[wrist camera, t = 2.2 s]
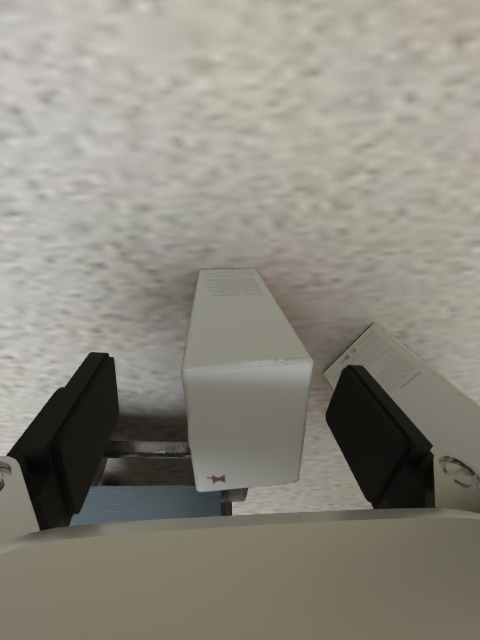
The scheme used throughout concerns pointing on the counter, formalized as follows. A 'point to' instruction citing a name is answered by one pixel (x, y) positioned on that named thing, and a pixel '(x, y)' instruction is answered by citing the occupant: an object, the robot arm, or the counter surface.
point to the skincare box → (243, 384)
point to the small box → (417, 393)
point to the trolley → (151, 491)
